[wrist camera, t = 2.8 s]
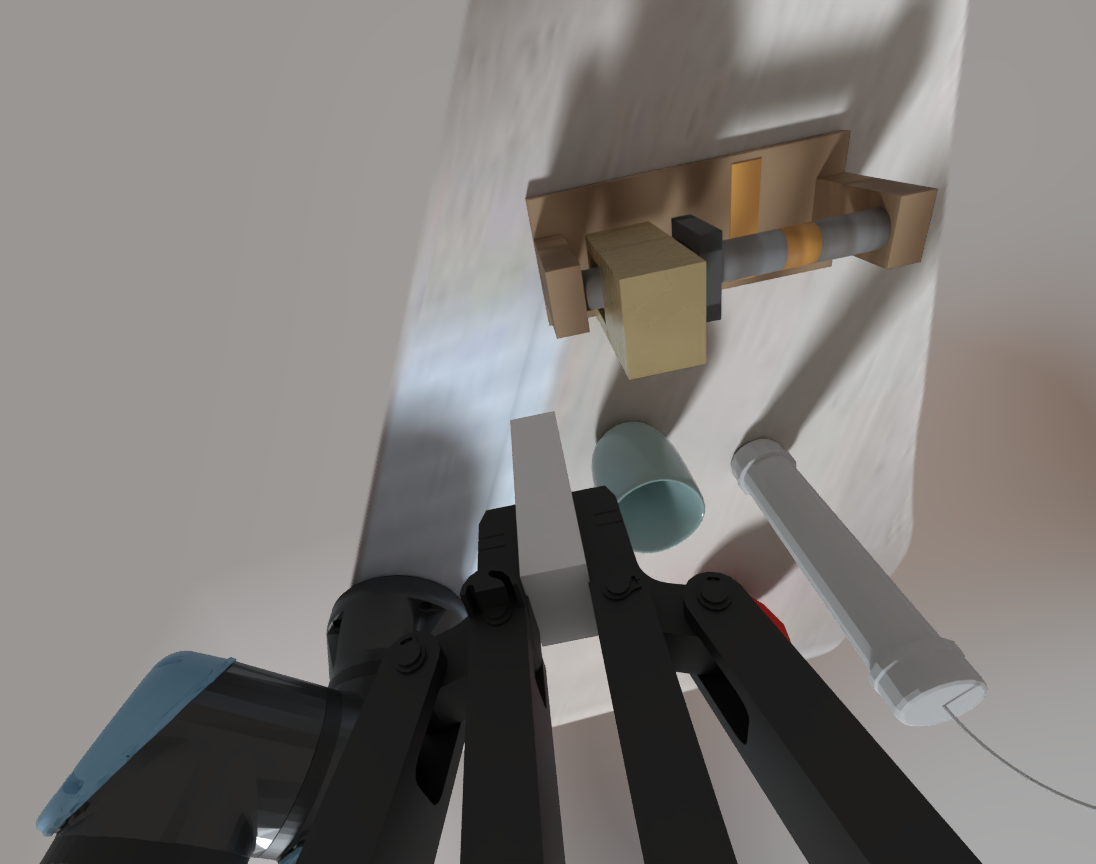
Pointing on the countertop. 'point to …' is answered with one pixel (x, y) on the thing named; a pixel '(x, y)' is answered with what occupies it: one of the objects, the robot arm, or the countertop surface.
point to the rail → (734, 218)
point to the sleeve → (650, 298)
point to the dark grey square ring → (703, 256)
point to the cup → (648, 486)
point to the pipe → (864, 599)
